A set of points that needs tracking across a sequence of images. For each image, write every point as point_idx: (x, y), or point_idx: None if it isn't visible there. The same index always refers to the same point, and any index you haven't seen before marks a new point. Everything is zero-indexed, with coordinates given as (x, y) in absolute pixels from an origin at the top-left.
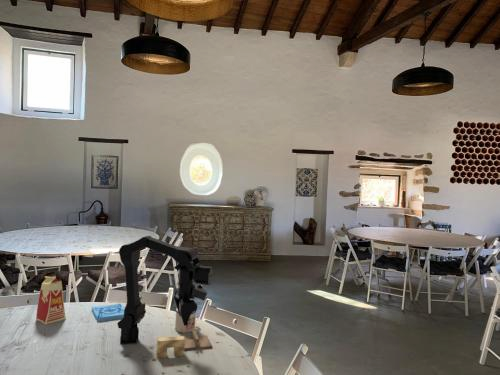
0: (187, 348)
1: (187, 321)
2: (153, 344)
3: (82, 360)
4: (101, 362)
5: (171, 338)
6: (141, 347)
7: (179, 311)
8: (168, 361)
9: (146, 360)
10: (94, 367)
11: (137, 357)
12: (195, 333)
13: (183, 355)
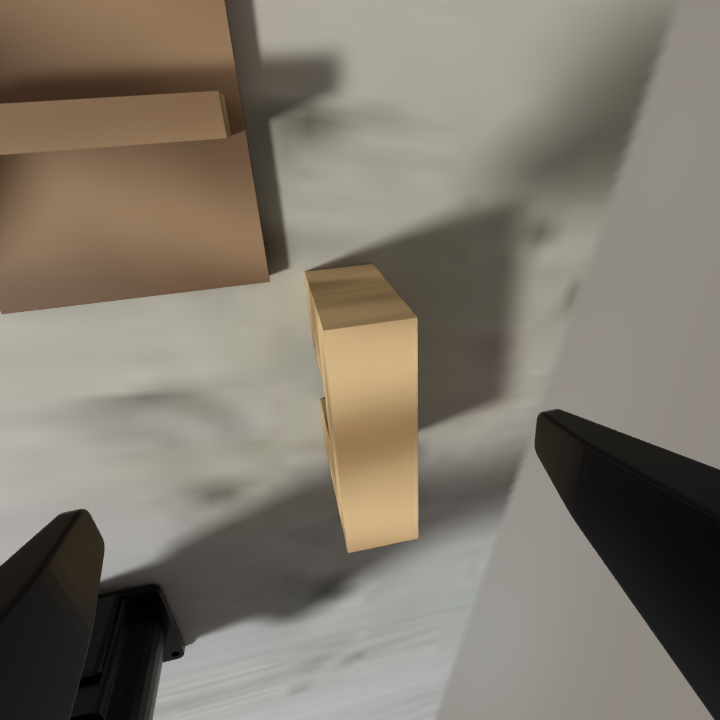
0: (261, 228)
1: (641, 453)
2: (165, 490)
3: (362, 708)
4: (391, 653)
5: (375, 447)
6: (221, 547)
7: (73, 660)
8: (441, 373)
9: None
10: (432, 659)
11: None
12: (17, 124)
13: (372, 267)
